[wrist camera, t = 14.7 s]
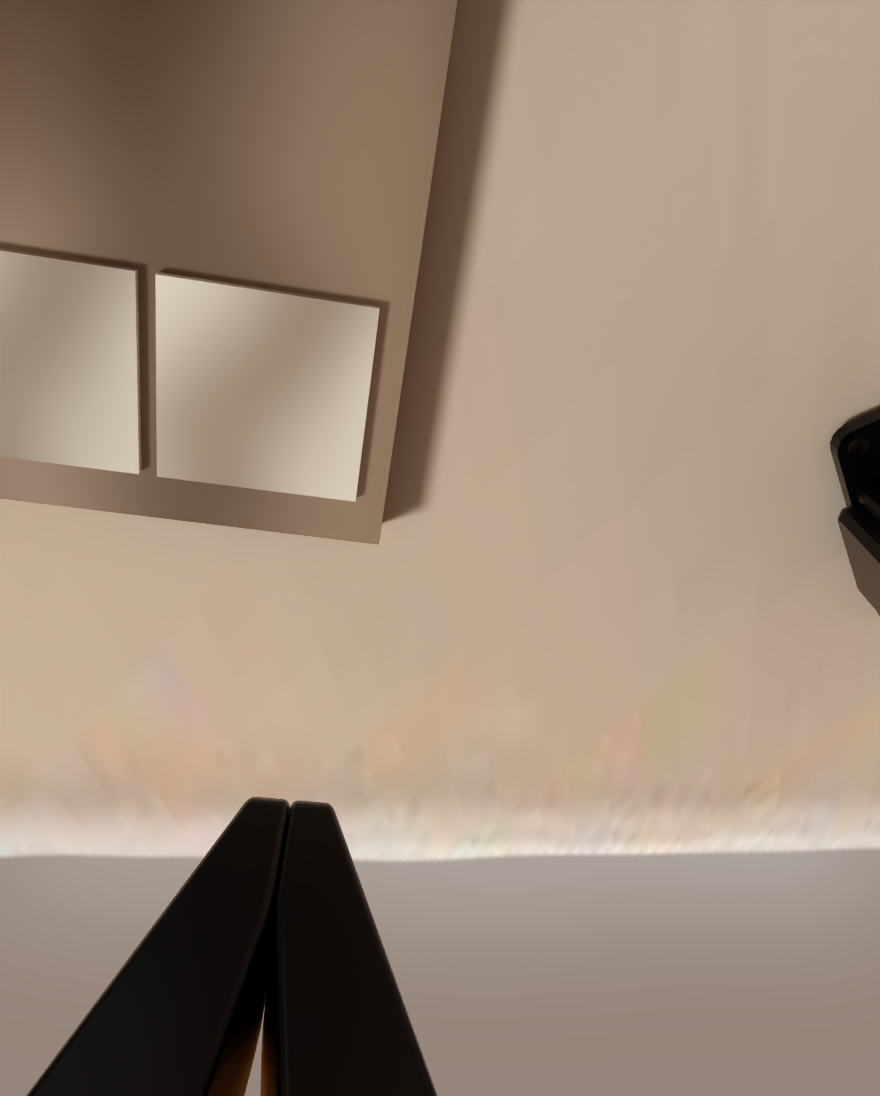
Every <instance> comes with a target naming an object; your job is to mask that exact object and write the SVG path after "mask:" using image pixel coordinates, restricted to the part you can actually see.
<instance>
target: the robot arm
mask: <svg viewBox="0 0 880 1096" xmlns="http://www.w3.org/2000/svg"><path fill="white" fill-rule="evenodd" d="M857 438H861V442H860V444H859V445H858V447H856V448H855V449H853V450H849V451H848V446H849V444H850V443H851V442H852V441H853V440H855V439H857ZM830 449H831V453H832V457H833V460H834V464H835V467H836V470H837V474H838V477H839V481H840V484H841V488H842V491H843V495H844V498H845V502H846V505H847V507H846V508H843V509H842V510H841V513H840V515H839V518H838V523H839V527H840V530H841V533H842V537H843V540H844V543H845V547H846V550H847V554H848V557H849V560H850V564H851V567H852V570H853V574H854V577H855V580H856V584H857V587H858V589H859V591H860V592H861V593H862V594H863V595H864V596H865V598H866V599H867V600H868V601H869V602H870V604H871V605H872V606H873V607H874V608H875V609H876V611H877V612H878V614H879V616H880V409H879V410H877V411H875V412H873V413H870V414H868V415H866V416H863V417H861V418H859V419H857V420H854V421H852V422H850V423H848V424H846V425H844V426H842V427H841V428H839V429H838V430H837V431H836V433H835V434H834V435H833V437H832V440H831V442H830ZM265 1000H266V1001H265ZM264 1006H265V1012H264ZM263 1012H264V1022H263V1034H262V1054H261V1094H260V1095H261V1096H437V1093H436V1090H435V1088H434V1085H433V1082H432V1079H431V1077H430V1074H429V1071H428V1068H427V1065H426V1063H425V1060H424V1057H423V1054H422V1052H421V1049H420V1046H419V1043H418V1041H417V1038H416V1035H415V1032H414V1029H413V1027H412V1024H411V1021H410V1018H409V1016H408V1013H407V1010H406V1007H405V1005H404V1002H403V999H402V996H401V993H400V991H399V988H398V985H397V982H396V980H395V977H394V974H393V971H392V969H391V966H390V963H389V960H388V958H387V955H386V952H385V949H384V946H383V944H382V941H381V938H380V936H379V933H378V930H377V927H376V924H375V921H374V919H373V916H372V913H371V911H370V908H369V905H368V902H367V899H366V897H365V894H364V891H363V888H362V885H361V883H360V880H359V877H358V874H357V872H356V869H355V866H354V863H353V861H352V858H351V855H350V852H349V849H348V847H347V844H346V841H345V838H344V836H343V833H342V830H341V827H340V825H339V822H338V819H337V816H336V813H335V811H334V809H333V807H332V806H331V805H330V804H328V803H321V802H310V801H295V802H293V803H292V805H291V807H290V805H289V803H288V802H287V801H286V800H284V799H275V798H263V797H252V798H250V799H249V800H247V801H246V802H245V803H244V805H243V806H242V807H241V809H240V810H239V811H238V813H237V814H236V815H235V817H234V818H233V819H232V821H231V822H230V823H229V825H228V826H227V827H226V829H225V830H224V831H223V833H222V834H221V835H220V837H219V838H218V839H217V841H216V842H215V843H214V845H213V846H212V847H211V849H210V850H209V851H208V853H207V854H206V856H205V857H204V858H203V860H202V861H201V862H200V864H199V865H198V866H197V868H196V869H195V870H194V872H193V873H192V874H191V876H190V877H189V878H188V880H187V881H186V882H185V884H184V885H183V886H182V888H181V889H180V890H179V892H178V893H177V894H176V896H175V897H174V898H173V900H172V901H171V902H170V904H169V905H168V906H167V908H166V909H165V910H164V912H163V913H162V914H161V916H160V917H159V918H158V920H157V921H156V923H155V924H154V925H153V926H152V928H151V929H150V931H149V932H148V933H147V934H146V936H145V937H144V939H143V940H142V941H141V942H140V944H139V945H138V946H137V948H136V949H135V951H134V952H133V953H132V955H131V956H130V957H129V958H128V960H127V961H126V963H125V964H124V965H123V967H122V968H121V969H120V971H119V972H118V973H117V975H116V976H115V977H114V979H113V980H112V981H111V983H110V984H109V985H108V987H107V988H106V989H105V991H104V992H103V994H102V995H101V996H100V997H99V999H98V1000H97V1001H96V1003H95V1004H94V1005H93V1007H92V1008H91V1009H90V1011H89V1012H88V1013H87V1015H86V1016H85V1017H84V1019H83V1020H82V1021H81V1023H80V1024H79V1025H78V1027H77V1028H76V1030H75V1031H74V1032H73V1033H72V1035H71V1036H70V1037H69V1039H68V1040H67V1041H66V1043H65V1044H64V1045H63V1047H62V1048H61V1049H60V1051H59V1052H58V1053H57V1055H56V1056H55V1057H54V1059H53V1060H52V1061H51V1063H50V1064H49V1066H48V1067H47V1068H46V1070H45V1071H44V1072H43V1074H42V1075H41V1076H40V1078H39V1079H38V1080H37V1082H36V1083H35V1084H34V1086H33V1087H32V1088H31V1090H30V1091H29V1092H28V1094H27V1095H26V1096H244V1095H245V1091H246V1087H247V1083H248V1079H249V1075H250V1071H251V1068H252V1064H253V1059H254V1056H255V1052H256V1047H257V1042H258V1038H259V1034H260V1029H261V1023H262V1018H263Z"/></svg>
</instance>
